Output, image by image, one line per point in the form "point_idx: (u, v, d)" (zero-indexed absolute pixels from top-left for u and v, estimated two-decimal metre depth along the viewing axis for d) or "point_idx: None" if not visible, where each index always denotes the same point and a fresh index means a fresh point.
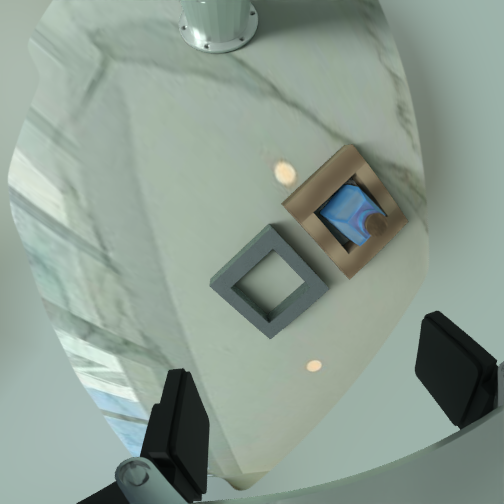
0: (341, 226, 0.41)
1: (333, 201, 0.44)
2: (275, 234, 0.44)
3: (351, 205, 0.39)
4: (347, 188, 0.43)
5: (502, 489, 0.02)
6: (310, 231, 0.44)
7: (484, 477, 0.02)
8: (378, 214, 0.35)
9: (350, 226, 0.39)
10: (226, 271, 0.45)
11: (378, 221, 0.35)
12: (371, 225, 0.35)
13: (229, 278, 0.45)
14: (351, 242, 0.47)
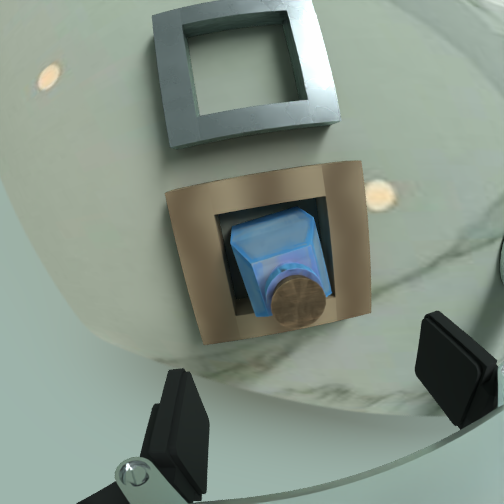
0: (294, 228, 0.21)
1: None
2: (327, 117, 0.22)
3: (321, 266, 0.21)
4: None
5: (502, 489, 0.02)
6: (299, 172, 0.23)
7: (484, 477, 0.02)
8: (317, 315, 0.17)
9: (295, 245, 0.19)
10: (316, 22, 0.19)
11: (304, 310, 0.16)
12: (307, 291, 0.16)
13: (302, 18, 0.19)
14: (220, 230, 0.26)
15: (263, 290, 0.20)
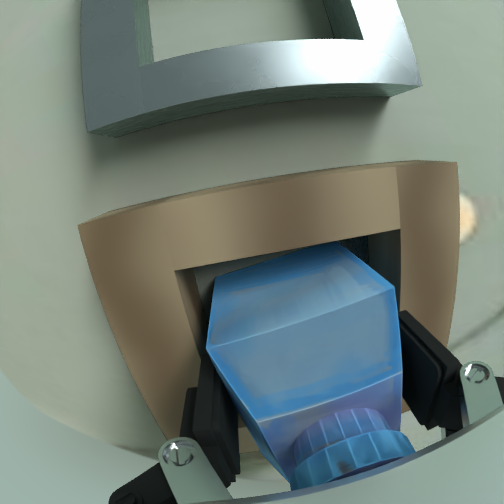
0: (356, 317, 0.08)
1: None
2: (400, 76, 0.10)
3: None
4: None
5: (502, 489, 0.02)
6: (354, 179, 0.10)
7: (484, 477, 0.02)
8: None
9: (365, 371, 0.07)
10: None
11: None
12: None
13: None
14: (193, 289, 0.14)
15: (282, 456, 0.07)
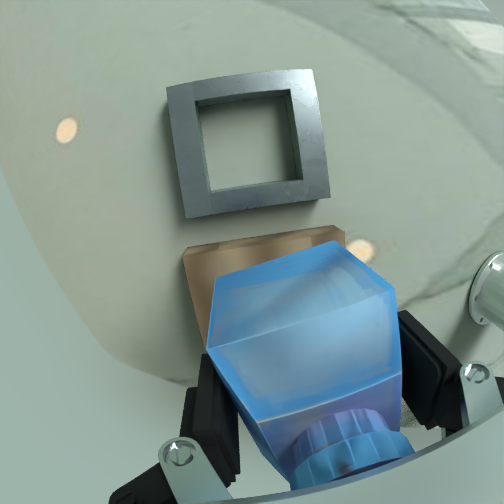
0: (356, 318, 0.08)
1: None
2: (318, 195, 0.28)
3: None
4: None
5: (502, 489, 0.02)
6: (292, 243, 0.28)
7: (484, 477, 0.02)
8: None
9: (364, 372, 0.07)
10: (316, 102, 0.25)
11: None
12: None
13: (303, 98, 0.25)
14: None
15: (282, 457, 0.07)
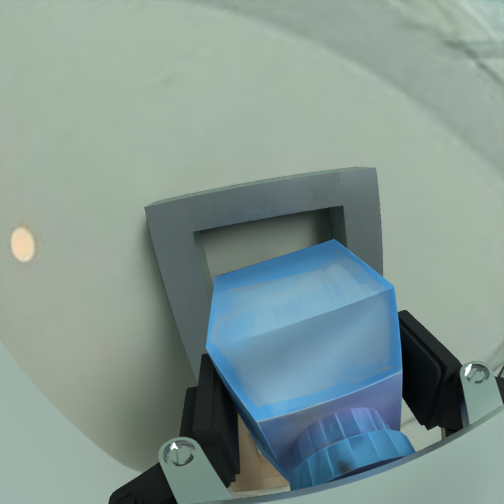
0: (356, 317, 0.08)
1: None
2: None
3: None
4: None
5: (502, 489, 0.02)
6: None
7: (484, 477, 0.02)
8: None
9: (364, 371, 0.07)
10: (378, 224, 0.18)
11: None
12: None
13: (362, 219, 0.17)
14: None
15: (282, 456, 0.07)
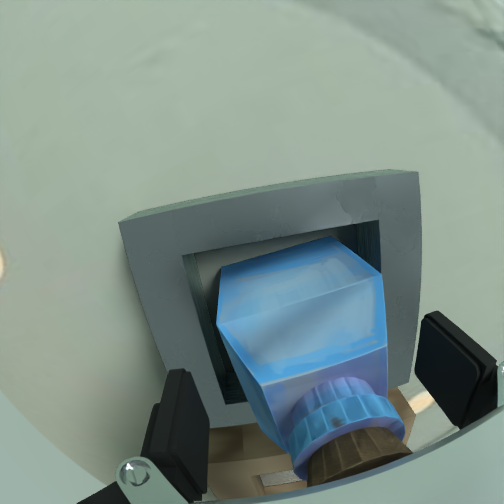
0: (347, 299, 0.10)
1: None
2: (394, 384, 0.16)
3: None
4: None
5: (502, 489, 0.02)
6: None
7: (484, 477, 0.02)
8: None
9: (354, 344, 0.08)
10: (418, 242, 0.13)
11: None
12: None
13: (400, 237, 0.13)
14: None
15: (282, 423, 0.09)
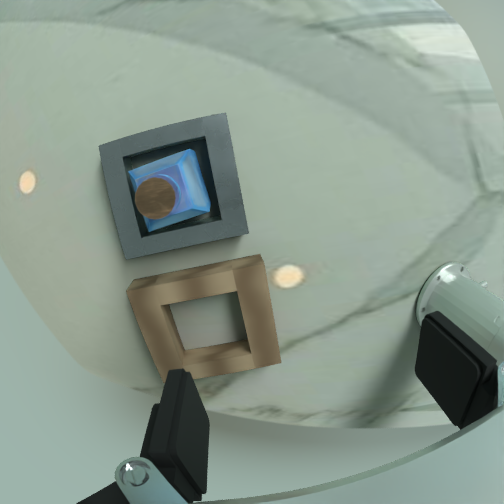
0: (172, 156, 0.25)
1: (200, 174, 0.31)
2: (237, 232, 0.32)
3: (193, 185, 0.26)
4: (208, 201, 0.31)
5: (502, 489, 0.02)
6: (216, 276, 0.32)
7: (484, 477, 0.02)
8: (169, 208, 0.21)
9: (167, 165, 0.24)
10: (230, 145, 0.29)
11: (159, 203, 0.21)
12: (160, 188, 0.21)
13: (218, 143, 0.29)
14: (167, 309, 0.35)
15: None
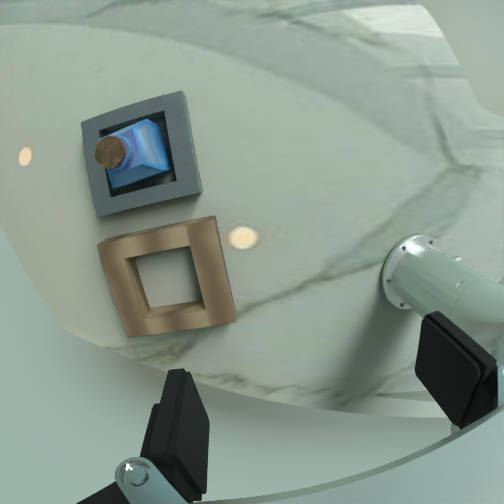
0: (132, 125, 0.29)
1: (161, 143, 0.34)
2: (190, 192, 0.35)
3: (147, 146, 0.29)
4: (166, 164, 0.34)
5: (502, 489, 0.02)
6: (171, 231, 0.35)
7: (484, 477, 0.02)
8: (119, 159, 0.25)
9: (126, 130, 0.27)
10: (184, 117, 0.32)
11: (111, 155, 0.25)
12: (113, 143, 0.24)
13: (174, 115, 0.32)
14: (133, 265, 0.39)
15: None
